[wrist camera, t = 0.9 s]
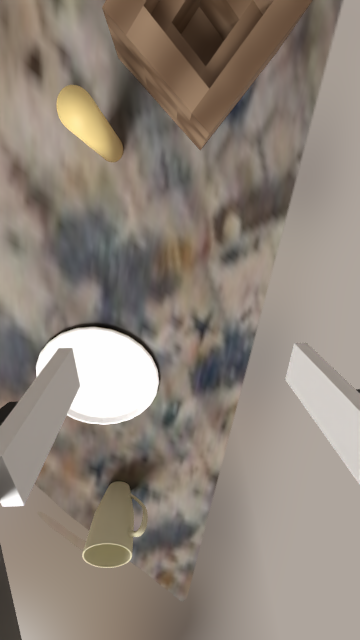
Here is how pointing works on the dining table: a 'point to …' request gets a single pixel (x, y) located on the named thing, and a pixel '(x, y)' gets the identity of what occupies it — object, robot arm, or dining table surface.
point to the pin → (88, 122)
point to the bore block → (199, 52)
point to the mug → (113, 528)
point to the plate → (106, 374)
